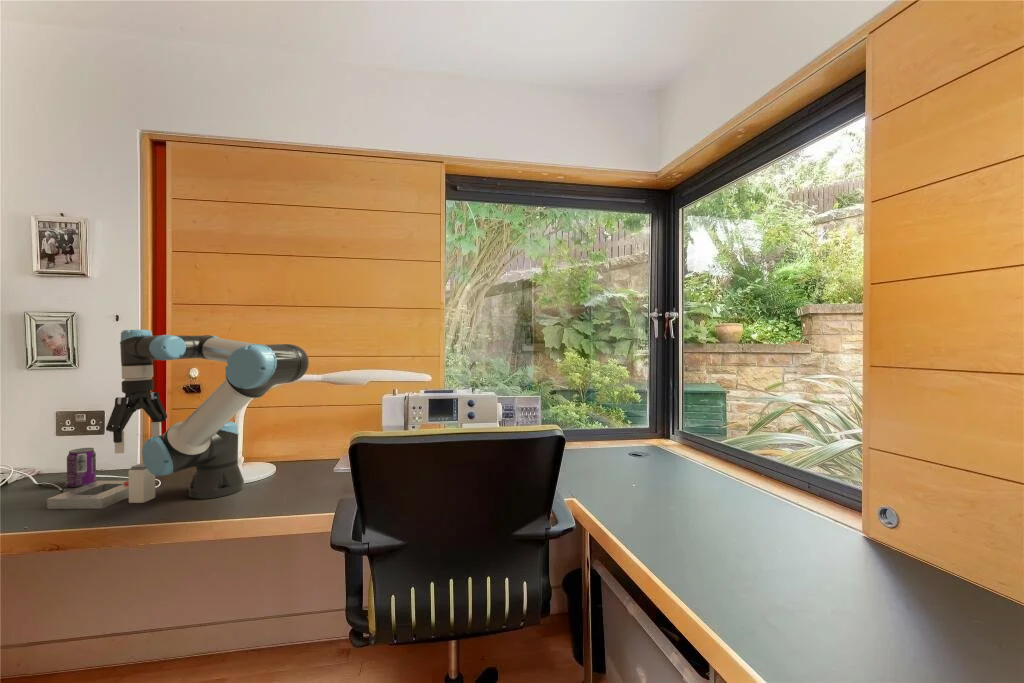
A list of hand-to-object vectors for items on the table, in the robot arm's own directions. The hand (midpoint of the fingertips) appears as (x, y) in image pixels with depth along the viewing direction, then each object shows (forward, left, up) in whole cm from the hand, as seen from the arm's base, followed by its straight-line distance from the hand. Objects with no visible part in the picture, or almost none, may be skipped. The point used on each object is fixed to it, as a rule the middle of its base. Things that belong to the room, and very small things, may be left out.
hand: (139, 447), depth 136 cm
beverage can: (+32, -14, -17) cm, 39 cm away
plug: (0, 0, -17) cm, 17 cm away
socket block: (+14, -1, -17) cm, 21 cm away
